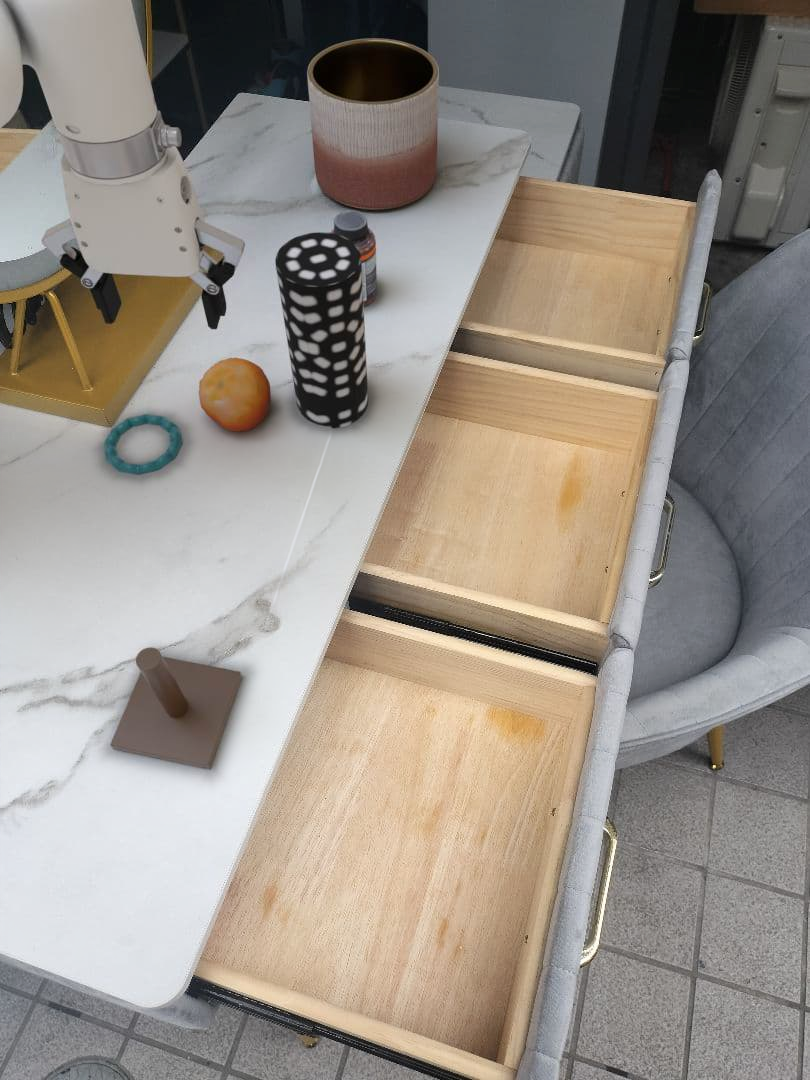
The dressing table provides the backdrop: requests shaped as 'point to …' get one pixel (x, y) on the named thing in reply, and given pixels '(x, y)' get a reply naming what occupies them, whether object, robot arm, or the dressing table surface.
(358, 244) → the supplement bottle
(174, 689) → the jewel stand
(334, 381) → the spotted tube
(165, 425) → the bangle
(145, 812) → the dressing table surface
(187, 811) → the dressing table surface
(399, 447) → the dressing table surface
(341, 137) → the planter
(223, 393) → the fruit
